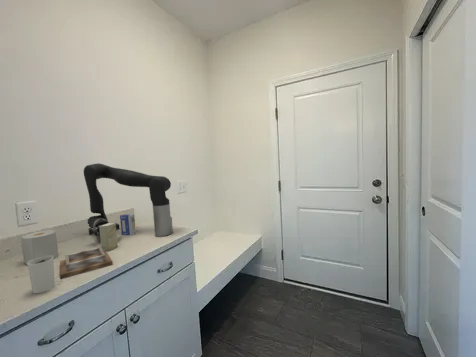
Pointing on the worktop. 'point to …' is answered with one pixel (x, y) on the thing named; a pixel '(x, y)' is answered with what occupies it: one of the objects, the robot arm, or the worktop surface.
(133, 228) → the walkman
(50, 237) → the toilet paper roll
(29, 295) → the worktop surface
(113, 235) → the skincare box
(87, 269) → the socket board
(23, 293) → the worktop surface
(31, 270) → the white coffee cup
